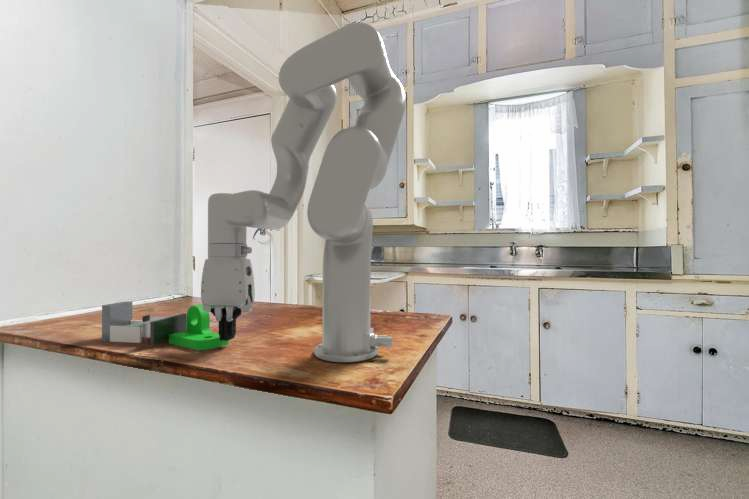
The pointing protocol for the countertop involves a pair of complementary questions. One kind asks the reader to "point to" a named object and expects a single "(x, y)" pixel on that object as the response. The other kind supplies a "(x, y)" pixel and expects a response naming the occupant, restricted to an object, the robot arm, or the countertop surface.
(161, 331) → the dark green piece
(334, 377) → the countertop surface
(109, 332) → the gauge housing
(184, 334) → the mechanical part
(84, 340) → the countertop surface
